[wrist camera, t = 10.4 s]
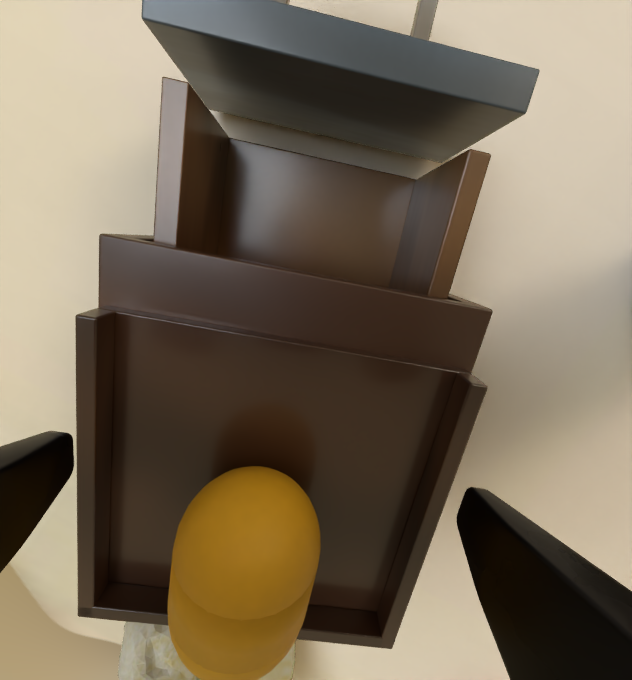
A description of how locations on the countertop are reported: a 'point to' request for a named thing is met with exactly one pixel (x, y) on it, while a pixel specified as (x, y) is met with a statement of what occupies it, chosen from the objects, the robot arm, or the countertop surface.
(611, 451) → the countertop surface
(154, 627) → the white conch shell
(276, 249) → the drawer
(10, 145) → the countertop surface
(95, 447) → the dark brown shallow tray
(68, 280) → the countertop surface
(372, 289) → the cabinet
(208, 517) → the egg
